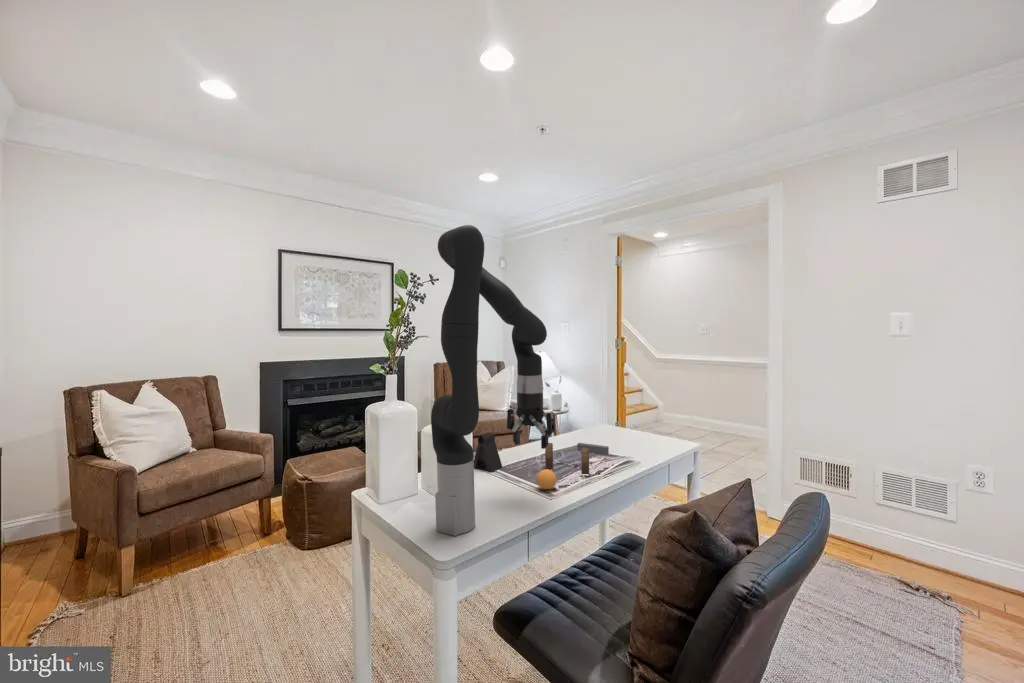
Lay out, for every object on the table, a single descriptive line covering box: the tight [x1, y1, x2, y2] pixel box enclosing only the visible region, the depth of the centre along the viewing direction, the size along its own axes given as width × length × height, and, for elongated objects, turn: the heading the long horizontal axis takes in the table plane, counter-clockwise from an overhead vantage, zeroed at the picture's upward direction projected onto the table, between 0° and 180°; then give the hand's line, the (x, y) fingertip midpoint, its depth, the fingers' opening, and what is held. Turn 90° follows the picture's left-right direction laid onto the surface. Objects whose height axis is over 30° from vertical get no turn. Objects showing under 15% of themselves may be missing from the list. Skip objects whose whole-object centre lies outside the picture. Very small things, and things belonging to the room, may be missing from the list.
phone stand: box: [474, 432, 503, 473], centre depth 152 cm, size 9×6×12 cm, turn 55°
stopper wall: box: [576, 442, 609, 455], centre depth 169 cm, size 2×12×2 cm, turn 60°
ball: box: [536, 468, 557, 490], centre depth 132 cm, size 6×6×6 cm
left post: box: [544, 442, 554, 470], centre depth 149 cm, size 3×3×9 cm
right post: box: [580, 448, 590, 475], centre depth 143 cm, size 3×3×9 cm
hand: (530, 446), depth 125 cm, fingers open, 8 cm apart
